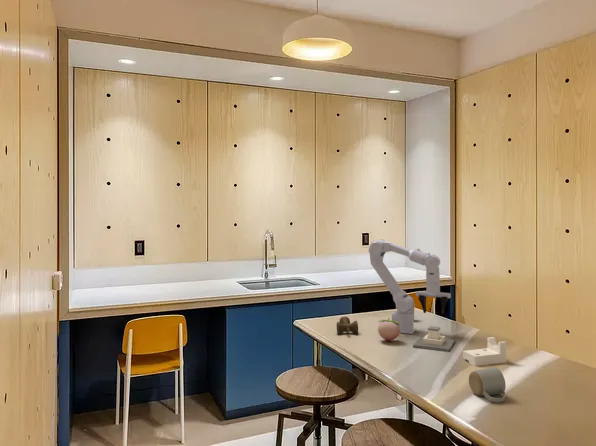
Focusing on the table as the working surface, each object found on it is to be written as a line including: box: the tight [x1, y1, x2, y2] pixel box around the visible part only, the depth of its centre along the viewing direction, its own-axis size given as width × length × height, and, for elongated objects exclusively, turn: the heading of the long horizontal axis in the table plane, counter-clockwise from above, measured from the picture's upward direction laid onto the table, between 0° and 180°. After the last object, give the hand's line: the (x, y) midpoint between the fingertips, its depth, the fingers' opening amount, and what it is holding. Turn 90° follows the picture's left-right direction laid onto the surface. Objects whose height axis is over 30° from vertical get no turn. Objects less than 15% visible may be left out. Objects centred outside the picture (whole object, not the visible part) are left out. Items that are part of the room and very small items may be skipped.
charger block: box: [427, 325, 441, 340], centre depth 189 cm, size 4×4×6 cm
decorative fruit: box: [377, 317, 401, 342], centre depth 195 cm, size 9×8×10 cm
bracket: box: [462, 336, 508, 367], centre depth 168 cm, size 13×7×8 cm, turn 104°
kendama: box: [336, 316, 359, 335], centre depth 213 cm, size 6×10×20 cm
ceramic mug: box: [468, 366, 506, 404], centre depth 137 cm, size 11×8×8 cm
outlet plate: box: [412, 333, 456, 353], centre depth 189 cm, size 14×14×3 cm
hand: (433, 313), depth 205 cm, fingers open, 7 cm apart
